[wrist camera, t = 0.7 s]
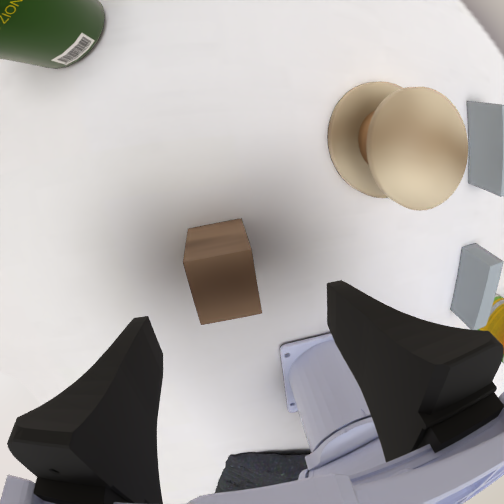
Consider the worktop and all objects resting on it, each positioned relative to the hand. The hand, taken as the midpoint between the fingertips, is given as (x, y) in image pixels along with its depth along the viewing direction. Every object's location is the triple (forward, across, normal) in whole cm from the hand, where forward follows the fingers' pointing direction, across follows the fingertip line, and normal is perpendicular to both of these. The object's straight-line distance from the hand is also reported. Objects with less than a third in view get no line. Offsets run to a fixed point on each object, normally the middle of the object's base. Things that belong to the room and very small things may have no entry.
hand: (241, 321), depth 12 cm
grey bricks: (+9, -21, +2) cm, 23 cm away
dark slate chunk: (+10, +1, +39) cm, 40 cm away
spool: (+9, -11, -5) cm, 16 cm away
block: (+10, +1, +1) cm, 10 cm away
